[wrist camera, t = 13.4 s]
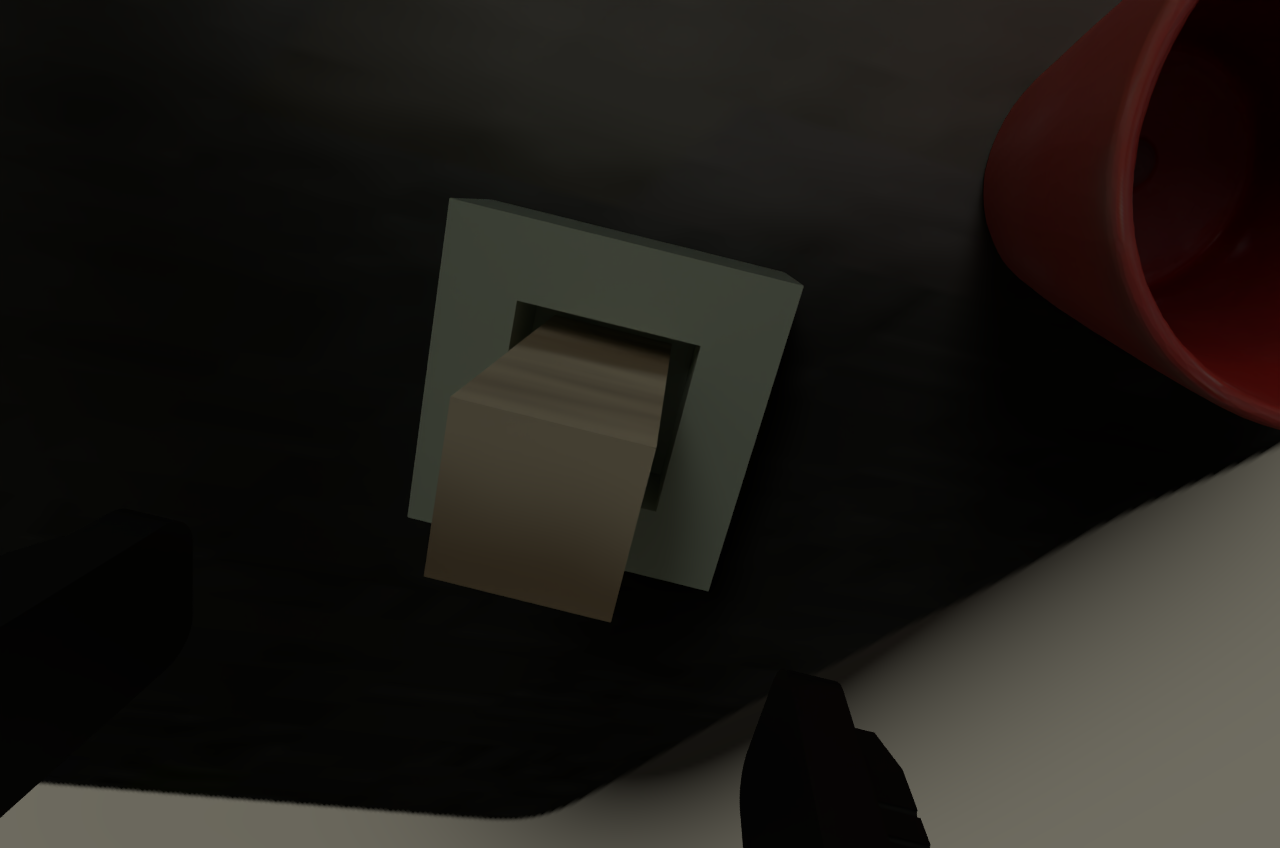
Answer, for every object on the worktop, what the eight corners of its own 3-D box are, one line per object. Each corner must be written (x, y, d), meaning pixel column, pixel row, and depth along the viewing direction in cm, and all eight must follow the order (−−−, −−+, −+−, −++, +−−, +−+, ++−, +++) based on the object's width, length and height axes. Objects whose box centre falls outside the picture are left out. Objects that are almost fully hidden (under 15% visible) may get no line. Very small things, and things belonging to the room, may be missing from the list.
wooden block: (555, 314, 22) (450, 396, 12) (671, 343, 22) (656, 447, 12) (533, 425, 23) (423, 576, 14) (643, 452, 23) (610, 622, 14)
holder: (491, 199, 22) (449, 198, 18) (784, 272, 22) (803, 285, 18) (450, 470, 25) (407, 516, 21) (706, 533, 25) (708, 591, 21)
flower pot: (1163, -127, 18) (1659, -480, 9) (1379, 170, 20) (1980, 138, 11) (858, 174, 21) (989, 149, 12) (1071, 410, 23) (1330, 549, 13)
